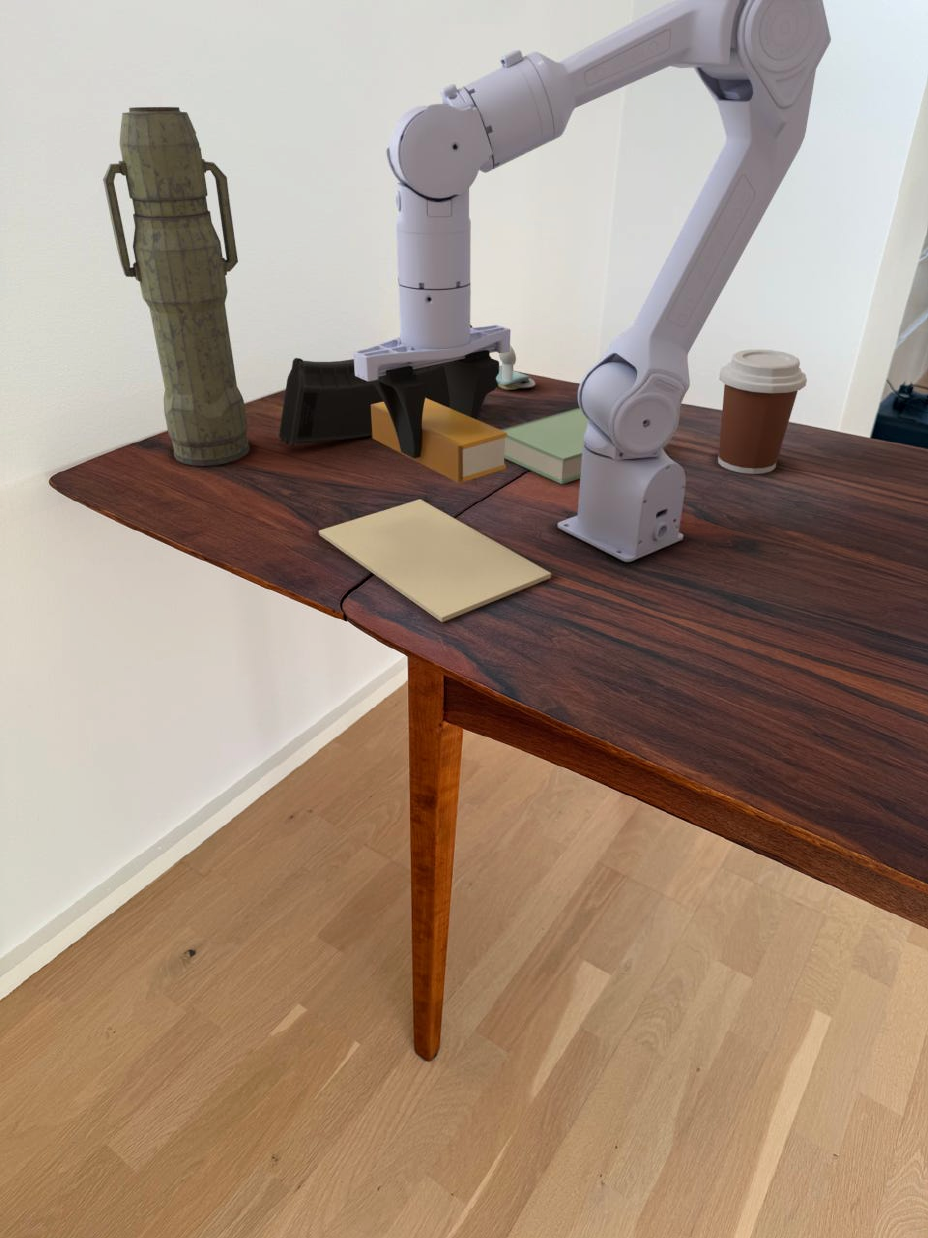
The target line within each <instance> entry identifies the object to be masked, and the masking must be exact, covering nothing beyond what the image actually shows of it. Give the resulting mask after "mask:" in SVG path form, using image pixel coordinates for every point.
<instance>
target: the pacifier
mask: <svg viewBox="0 0 928 1238" xmlns="http://www.w3.org/2000/svg"><path fill="white" fill-rule="evenodd" d="M516 355H517V354H516V352H515V349H514V348H513V346H511V345H510V351H509V352H505V353H498V357H499V360H500V361H501V365H499V374H498V375H497V377H496V380H497V387H499V388H501V389H504V390H507V391H508V390H518V389H531V388H534V387H535V386H536V381H535V380H534V379H532V378H531V377H532V376H531V375H527V374H523V373H521V372H519V371H516V370H514V366H515V364H516V363H517V356H516ZM523 382H524V383H523Z"/></svg>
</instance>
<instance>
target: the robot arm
mask: <svg viewBox="0 0 928 1238" xmlns="http://www.w3.org/2000/svg"><path fill="white" fill-rule="evenodd" d="M831 42H832V36H831V32H830V28H829V23H828V19H827V14H826V9H825V5H824V1H823V0H674V1H671V2H668V3H665V4H663V5H662V6H660V7H658V8H656V9H654V10H652V11H650V12H649V13H647V14H645V15H644V16H641V17H640V18H638V19H636V20H633V21H632V22H629V23H628V24H627V25H625V26H623V27H621V28H619V29H617V30H615V31H614V32H611V33H610V34H607V35H606V36H604V37H602V38H601V39H599V40H596V41H595V42H593V43H591V44H590V45H588V46H586V47H584V48H583V49H581V50H579V51H577V52H574V53H572V54H571V55H569V56H567V57H566V58H564V59H562V60H560V61H555V60H553V59H551V58H549V57H548V56H546V55H544V54H543V53H540V52H538V51H532V52H530V53H528V54H525V55H524V56H523V52H522V51H521V50H520V49H517V50H511V51H510V52H508V53H506V54H504V55H502V56H501V57H499V62H500V65H501V67H499V68H498V69H495V70H494V71H491V72H490V73H488V74H486V75H484V76H481V77H480V78H478V79H476V80H473V81H472V82H469V83H467V84H465V85H463V86H462V87H459V88H457V86H456V84H454V83H451V84H449V85H446V86H444V87H443V88H441V89H440V90H439V91H440V96H441V99H442V102H441V103H432V104H428V105H419V106H416V107H413V108H411V109H409V110H407V111H406V112H405V113H404V114H403V115H402V116H400V118H399V119H398V120H397V122H396V124H395V125H394V126H393V129H392V132H391V134H390V138H389V147H387V148H386V149H385V151H386V159H387V163H388V165H389V168H390V171H391V172H392V174H393V176H394V177H395V178H396V180H397V181H398V182H397V183H396V195H395V203H396V209H397V216H396V219H395V231H396V233H395V235H396V257H397V258H396V259H397V260H396V261H397V284H398V285H397V286H398V308H399V311H398V313H399V337H396V338H393V339H390V340H387V341H385V342H382V343H380V344H377V345H374V346H371V347H368V348H364V349H361V350H355V351H353V359H354V369H355V376H356V377H359V378H361V379H363V380H366V381H368V382H369V381H372V383H373V384H374V386H375V387H376V389H377V391H378V392H379V394H380V396H381V398H382V399H383V401H384V403H385V405H386V407H387V410H388V412H389V414H390V417H391V419H392V422H393V425H394V428H395V431H396V434H397V437H398V441H399V445H400V449H401V452H402V453H404V454H406V455H408V456H410V457H412V458H418V457H420V455H421V449H422V416H423V408H424V402H425V397H426V393H427V390H428V387H429V385H428V384H427V383H426V382H423V381H421V380H419V379H417V374H413V369H416V368H421V367H426V366H431V365H435V364H440V363H443V366H444V370H445V374H446V379H447V384H448V390H449V398H450V409H453V410H455V411H457V412H460V413H462V414H464V415H467V416H469V417H471V418H474V419H476V420H478V421H479V416H480V413H481V409H482V406H483V404H484V401H485V400H486V397H487V395H488V394H489V393H488V390H489V388H490V387H491V385H492V383H493V381H494V380H495V378H496V377H497V375H498V374H499V366H500V361H499V360H497V359H494V358H492V357H491V358H490V356H491V353H492V354H493V353H498V354H499V353H505V352H509V351H510V346H511V331H512V329H511V328H508V327H506V326H505V327H504V326H501V325H498V324H491V325H486V326H476V327H473V328H470V325H471V294H472V293H471V290H472V289H471V288H472V287H471V286H472V285H471V284H472V283H471V244H472V243H471V239H472V238H471V230H472V226H471V225H472V221H471V218H470V187H471V186H472V184H474V182H475V180H476V179H477V176H478V174H479V171H480V172H482V173H485V174H486V173H489V172H491V171H493V170H495V169H497V168H499V167H502V166H504V165H505V164H507V163H509V162H511V161H514V160H516V159H518V158H520V157H521V156H524V155H526V154H527V153H530V152H532V151H534V150H536V149H538V148H540V147H542V146H544V145H546V144H548V143H550V142H552V141H555V140H557V139H558V138H560V137H562V135H563V134H564V132H565V130H566V129H567V126H568V123H569V121H570V119H571V116H572V114H573V112H574V111H575V109H576V108H579V107H581V106H583V105H585V104H587V103H590V102H593V101H594V100H597V99H599V98H601V97H603V96H606V95H608V94H610V93H613V92H615V91H616V90H617V91H618V90H619V89H621V88H624V87H626V86H628V85H631V84H633V83H635V82H638V81H639V80H643V79H644V78H646V77H649V76H651V75H653V74H655V73H657V72H660V71H662V70H664V69H666V68H668V67H672V68H678V69H691V68H693V69H694V71H695V73H696V75H697V76H698V77H699V79H700V81H701V82H702V84H703V85H704V86H705V88H706V90H707V91H708V92H709V94H710V96H711V97H712V98H713V99H712V100H714V102H715V103H716V105H717V108H718V111H719V115H720V119H721V122H722V126H723V129H724V132H725V136H726V140H725V143H724V145H723V147H722V149H721V151H720V153H719V155H718V157H717V159H716V161H715V163H714V164H713V166H712V168H711V170H710V173H709V175H708V176H707V178H706V181H705V182H704V184H703V186H702V188H701V190H700V192H699V194H698V196H697V197H696V200H695V202H694V204H693V205H692V208H691V210H690V211H689V214H688V216H687V218H686V220H685V222H684V224H683V226H682V227H681V230H680V231H679V234H678V235H677V237H676V238H675V241H674V243H673V245H672V247H671V249H670V251H669V253H668V255H667V257H666V259H665V261H664V262H663V265H662V266H661V269H660V270H659V273H658V274H657V277H656V278H655V281H654V282H653V284H652V286H651V288H650V290H649V292H648V294H647V295H646V297H645V300H644V302H643V304H642V306H641V308H640V310H639V312H638V314H637V316H636V317H635V320H634V322H633V324H632V325H631V327H629V328H628V329H626V330H625V331H624V332H622V333H621V334H619V335H618V336H617V337H615V338H613V339H612V341H611V342H610V343H609V345H608V348H607V349H606V351H605V352H604V354H603V355H602V357H601V358H600V359H599V360H598V361H597V362H596V363H594V364H593V365H592V366H591V367H589V369H588V370H587V371H586V372H585V373H584V374H583V376H582V378H581V380H580V382H579V386H578V389H577V402H578V408H580V410H581V411H582V413H583V414H584V416H585V417H586V418H587V419H588V425H587V429H586V432H585V434H584V437H583V450H582V463H581V476H580V479H579V488H578V489H579V490H578V502H577V503H578V504H577V515H574V516H573V517H572V516H571V517H569V518H567V519H564V520H561V521H558V523H557V526H556V527H557V529H560V530H561V531H563V532H565V533H567V534H569V535H571V536H573V537H575V538H577V539H579V540H581V541H582V542H585V543H587V544H588V545H591V546H593V547H595V548H597V549H598V550H601V551H603V552H605V553H606V554H608V555H610V556H613V557H614V558H616V559H618V560H620V561H622V562H624V563H631V562H634V561H636V560H638V559H641V558H643V557H645V556H648V555H650V554H653V553H655V552H657V551H659V550H661V549H664V548H666V547H669V546H671V545H674V544H676V543H678V542H680V541H682V540H683V539H684V534H683V533H681V532H680V527H681V520H682V513H683V508H684V501H685V493H686V487H687V477H686V473H685V469H684V467H682V466H681V465H680V464H679V463H677V462H676V461H674V460H673V459H672V458H670V456H669V455H668V454H667V453H666V451H665V450H664V448H665V447H666V445H667V444H669V442H670V441H671V440H672V439H673V437H674V435H675V434H676V432H677V429H678V426H679V423H680V415H681V407H682V403H683V400H684V398H685V396H686V394H687V392H688V390H689V388H690V386H691V385H690V384H691V381H690V369H689V359H688V358H689V357H688V356H689V352H690V351H691V349H692V347H693V346H694V343H695V342H696V340H697V338H698V336H699V334H700V333H701V330H702V329H703V327H704V325H705V323H706V322H707V320H708V318H709V316H710V315H711V313H712V311H713V309H714V307H715V304H716V303H717V302H718V300H719V297H720V295H721V294H722V292H723V291H724V288H725V287H726V285H727V283H728V281H729V279H730V277H731V276H732V274H733V272H734V270H735V268H736V266H737V265H738V263H739V261H740V259H741V257H742V256H743V254H744V251H745V250H746V247H747V246H748V244H749V243H750V241H751V239H752V237H753V236H754V233H755V232H756V230H757V228H758V226H759V224H760V223H761V221H762V219H763V218H764V215H765V213H766V212H767V209H768V208H769V206H770V204H771V202H772V201H773V199H774V197H775V195H776V194H777V191H778V189H779V187H780V185H781V184H782V182H783V180H784V178H785V177H786V175H787V173H788V171H789V169H790V168H791V166H792V164H793V162H794V160H795V159H796V156H797V155H798V153H799V151H800V149H801V147H802V145H803V142H804V140H805V137H806V132H807V128H808V121H809V116H810V115H809V114H810V109H811V104H812V103H811V102H812V97H813V90H814V85H815V78H816V73H817V68H818V66H819V65H820V63H821V61H822V59H823V57H824V55H825V53H826V51H827V49H828V48H829V46H830V44H831ZM487 393H488V394H487Z"/></svg>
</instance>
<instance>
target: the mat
mask: <svg viewBox="0 0 928 1238" xmlns="http://www.w3.org/2000/svg"><path fill="white" fill-rule="evenodd" d="M318 534H319V536H320V537H321V538H323V539H324V540H325V541H327V542H328V543H330V544H331V545H333V546H334V547H335V548H337V549H338V550H339V551H341V552H342V553H344V554H345V555H347V556H348V557H349V558H350V559H352V560H354V561H355V562H356V563H358V564H359V565H361V566H362V567H363V568H365V570H368V571H369V572H371V573H372V574H374V575H375V576H376V577H377V578H379V579H381V580H382V581H383V582H384V583H386V584H387V585H389V586H390V587H392V588H393V589H394V590H396V591H397V592H399V594H401V595H403V596H404V597H405V598H407V599H408V600H410V601H411V602H413V603H414V604H415V605H416V606H418V607H419V608H421V609H422V610H424V611H425V612H426V613H428V614H430V615H431V616H432V617H433V618H435V619H436V620H438V621H439V622H441V623H444V622H447V621H449V620H452V619H454V618H457V617H459V616H461V615H464V614H466V613H468V612H472V611H474V610H476V609H478V608H481V607H484V606H486V605H488V604H491V603H493V602H495V601H498V600H500V599H503V598H506V597H507V596H510V595H512V594H515V593H517V592H520V591H523V590H525V589H527V588H530V587H532V586H535V585H538V584H539V583H542V582H545V581H547V580H549V579H551V578H552V573H551V571H548V570H547V569H545V568H543V567H541V566H539V565H538V564H536V563H534V562H532V561H530V560H529V559H527V558H526V557H524V556H521V554H519V553H517V552H515V551H512V550H511V549H509V548H508V547H505V546H504V545H502V544H500V543H498V542H497V541H496V540H493V539H492V538H490V537H488V536H486V535H485V534H483V533H482V532H480V531H478V530H475V529H474V528H472V527H470V526H469V525H466V524H465V523H463V522H461V521H460V520H458V519H456V518H455V517H453V516H451V515H449V514H447V513H446V512H444V511H442V510H441V509H438V508H437V507H435V506H433V505H431V504H430V503H428V502H426V501H424V500H423V499H420V498H419V499H416V500H413V501H410V502H406V503H403V504H400V505H397V506H393V507H390V508H388V509H385V510H380V511H377V512H375V513H371V514H368V515H365V516H362V517H358V518H355V519H352V520H348V521H346V522H343V523H339V524H336V525H333V526H330V527H326V528H323V529H319V530H318Z"/></svg>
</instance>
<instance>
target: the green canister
mask: <svg viewBox="0 0 928 1238" xmlns="http://www.w3.org/2000/svg"><path fill="white" fill-rule="evenodd" d="M128 110H129V111H128V112H122V114H121V123H120V132H119V150H120V155H121V159H122V160H118V163H110V164H109V165H108V168H107V170H106V172H105V174H104V176H103V178H102V181H103V186H104V189H105V196H106V200H107V206H108V211H109V216H110V220H111V225H112V230H113V235H114V240H115V245H116V251H117V255H118V258H119V262H120V266H121V268H122V271H123V274H124V276H125V277H128V278H135V280H136V281H137V282H139V287H140V291H141V296H142V299H143V301H144V302H145V304H146V306H147V307H148V308H149V313H150V318H151V324H152V328H153V334H154V338H155V344H156V349H157V350H156V351H157V355H158V360H159V365H160V370H161V376H162V380H163V385H164V395H163V412H164V418H165V422H166V428H167V433H168V436H169V438H170V439H171V443H172V447H173V456H174V458H175V459H176V461H177V462H180V463H182V464H184V465H189V466H198V467H208V466H218V465H223V464H228V463H231V462H235V461H238V460H240V459H242V458H244V457H245V456H247V454H249V452H250V444H249V441H248V433H247V431H248V427H249V426H248V419H247V412H246V407H245V401H244V398H243V396H242V393H241V391H240V389H239V387H238V384H237V378H236V369H235V363H234V356H233V350H232V342H231V336H230V330H229V322H228V315H227V308H226V302H227V301H226V300H227V296H228V291H229V290H228V284H227V277H226V276H227V275H228V273H229V272H231V271H232V270H233V269H234V267H235V266H237V264H238V263H239V258H238V251H237V246H236V239H235V230H234V224H233V223H234V222H233V215H232V208H231V200H230V194H229V185H228V184H229V183H228V177H227V175H226V174H225V173H224V172H223V171H222V170H221V169H220V167H219V166H218V165H217V164H216V163H215V162H214V161H206V160H205V159H204V158H203V154H202V148H201V147H200V142H199V139H198V137H197V132H196V129H195V127H194V125H193V122H192V120H191V117H190V116H189V113H188V112H187V111H181V110H180V107H179V106H142V107H141V106H140V107H139V106H137V107H128ZM207 171H210V172H211V174H212V177H214V180H215V186H216V194H217V201H218V208H219V215H220V222H221V231H222V238H223V243H224V244H223V245H224V252H225V258H224V257H223V250H222V249H223V248H222V244H221V239H220V238H219V235H218V233H217V231H216V228H215V227H214V224H213V221H212V215H211V211H210V210H209V209H208V202H207V197H208V195H209V194H208V189H207V181H206V175H205V174H206V173H207ZM116 174H121V176H125V180H126V187H127V190H128V195H129V199H131V200H132V206H133V211H134V213H133V214H132V217H133V222H134V231H133V232H134V234H133V241H132V249H133V255H134V259H135V260H134V261H135V262H133V264H132V266H131V262H130V256H129V252H128V247H127V241H126V237H125V231H124V226H123V222H122V221H123V220H122V217H121V212H120V206H119V201H118V195H117V190H116V186H115V178H116Z"/></svg>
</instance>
